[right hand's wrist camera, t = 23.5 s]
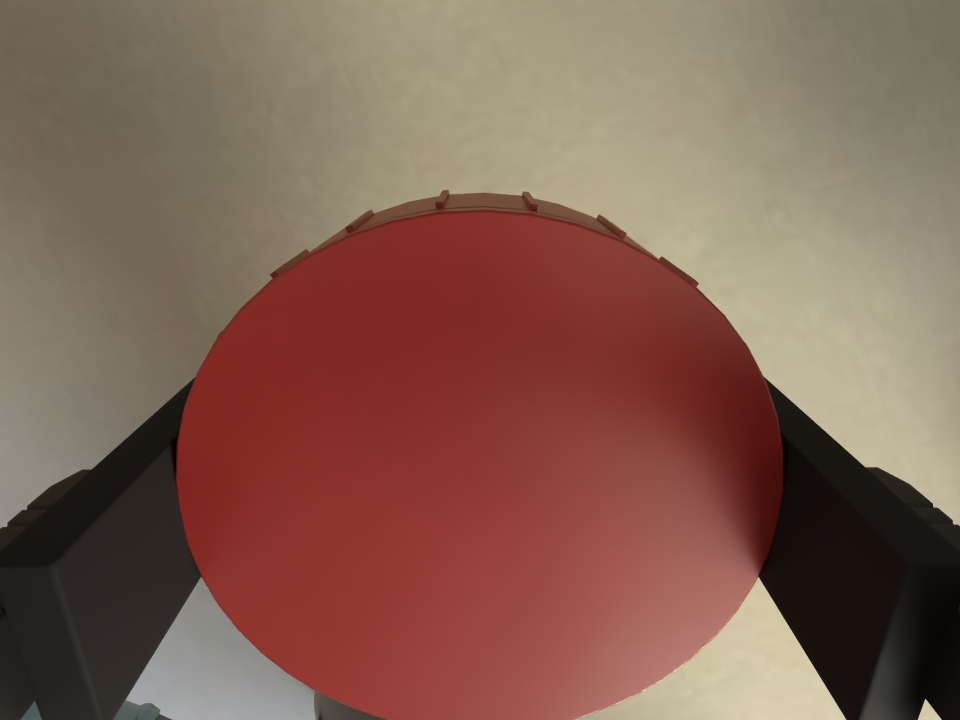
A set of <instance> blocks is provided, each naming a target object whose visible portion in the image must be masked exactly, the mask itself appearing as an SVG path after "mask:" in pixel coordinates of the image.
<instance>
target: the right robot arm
mask: <svg viewBox="0 0 960 720" xmlns="http://www.w3.org/2000/svg"><path fill="white" fill-rule="evenodd" d="M764 379H765V381H766V383H767V386H768V389H769V392H770V395H771V398H772V401H773V404H774V407H775V410H776V413H777V416H778V422H779V428H780V434H781V440H782V446H783V453H784V489H783V494H782V500H781V505H780V510H779V515H778V520H777V525H776V529H775V533H774V538H773V542H772V545H771V548H770V552H769V554H768V556H767V559H766V561H765V563H764V565H763V567H762V569H761V571H760V574H759V576H758V577H759V578H760V580H761V581H762V583H763V585H764V586H765V588H766V590H767V591H768V593H769V594H770V596H771V598H772V599H773V601H774V603H775V604H776V606H777V607H778V609H779V611H780V612H781V614H782V616H783V617H784V619H785V620H786V622H787V624H788V625H789V627H790V629H791V630H792V632H793V633H794V635H795V637H796V638H797V640H798V642H799V643H800V645H801V646H802V648H803V650H804V651H805V653H806V655H807V656H808V658H809V660H810V661H811V663H812V664H813V666H814V668H815V669H816V671H817V673H818V674H819V676H820V677H821V679H822V681H823V682H824V684H825V686H826V687H827V689H828V690H829V692H830V694H831V695H832V697H833V699H834V700H835V702H836V703H837V705H838V707H839V708H840V710H841V712H842V713H843V715H844V716H845V718H846V720H918V717H919V715H920V712H921V709H922V706H923V704H924V701H925V699H926V700H927V701H928V702H929V704H930V705H931V706H932V708H933V709H934V710H935V711H936V713H937V714H938V715H939V717H940V718H941V719H942V720H960V526H959V525H954V524H953V520H952V519H950V518H949V517H948V516H947V515H946V514H944V513H943V512H942V511H941V510H940V509H939V508H934V507H933V503H931V502H930V501H929V500H928V499H927V498H925V497H924V496H923V495H922V494H921V493H919V492H918V491H917V490H916V489H915V488H914V487H912V486H911V485H910V484H908V483H906V482H904V481H903V480H901V479H899V478H897V477H895V476H893V475H891V474H889V473H887V472H885V471H883V470H881V469H880V468H878V467H864V466H863V465H862V464H861V463H860V462H859V461H858V460H857V459H855V458H854V457H853V456H852V455H851V454H850V453H849V452H848V451H846V450H845V449H844V448H843V447H842V446H841V445H840V444H839V443H837V442H836V441H835V440H834V439H833V438H832V437H831V436H830V435H829V434H827V433H826V432H825V431H824V430H823V429H822V428H821V427H820V426H818V425H817V424H816V423H815V422H814V421H813V420H812V419H811V418H809V417H808V416H807V415H806V414H805V413H804V412H803V411H802V410H800V409H799V408H798V407H797V406H796V405H795V404H794V403H793V402H792V401H790V400H789V399H788V398H787V397H786V396H785V395H784V394H783V393H781V392H780V391H779V390H778V389H777V388H776V387H775V386H774V385H772V384H771V383H770V382H769V381H768V380H767V379H766V378H765V377H764ZM194 380H195V378H194V379H193V380H192V381H190V382H189V383H188V384H187V385H186V386H185V387H184V388H183V389H182V390H180V391H179V392H178V393H177V394H176V395H175V396H174V397H173V398H171V399H170V400H169V401H168V402H167V403H166V404H165V405H164V406H162V407H161V408H160V409H159V410H158V411H157V412H156V413H155V414H153V415H152V416H151V417H150V418H149V419H148V420H147V421H146V422H145V423H143V424H142V425H141V426H140V427H139V428H138V429H137V430H136V431H134V432H133V433H132V434H131V435H130V436H129V437H128V438H127V439H125V440H124V441H123V442H122V443H121V444H120V445H119V446H118V447H116V448H115V449H114V450H113V451H112V452H111V453H110V454H109V455H108V456H106V457H105V458H104V459H103V460H102V461H101V462H100V463H99V464H97V465H96V466H95V467H94V468H93V469H92V470H81V471H79V472H77V473H75V474H73V475H71V476H69V477H68V478H66V479H64V480H62V481H60V482H58V483H56V484H54V485H52V486H51V487H49V488H48V489H47V490H46V491H45V492H43V493H42V494H41V495H40V496H39V497H37V498H36V499H35V500H34V501H33V502H32V503H30V504H29V505H28V506H27V510H22V511H21V512H20V513H19V514H17V515H16V516H15V517H14V518H13V519H11V520H10V521H9V522H8V525H7V527H2V528H1V529H0V720H171V719H169V718H167V717H165V716H163V715H160V714H159V713H160V709H158V708H157V707H156V706H155V705H153V704H152V703H145V704H142V705H140V706H139V705H137V704H134V703H132V702H129V701H126V698H127V696H128V695H129V693H130V691H131V690H132V688H133V687H134V685H135V683H136V682H137V680H138V678H139V677H140V675H141V674H142V672H143V670H144V669H145V667H146V665H147V664H148V662H149V660H150V659H151V657H152V656H153V654H154V652H155V651H156V649H157V647H158V646H159V644H160V643H161V641H162V639H163V638H164V636H165V634H166V633H167V631H168V630H169V628H170V626H171V625H172V623H173V621H174V620H175V618H176V617H177V615H178V613H179V612H180V610H181V608H182V607H183V605H184V604H185V602H186V600H187V599H188V597H189V595H190V594H191V592H192V591H193V589H194V587H195V586H196V584H197V582H198V581H199V579H200V578H201V575H200V572H199V570H198V568H197V565H196V563H195V561H194V558H193V556H192V554H191V551H190V549H189V547H188V542H187V538H186V533H185V529H184V524H183V520H182V515H181V510H180V505H179V499H178V494H177V488H176V480H175V477H176V453H177V441H178V436H179V431H180V426H181V421H182V416H183V411H184V407H185V404H186V402H187V399H188V396H189V393H190V391H191V388H192V385H193V383H194ZM314 705H315V720H389V719H385V718H381V717H377V716H374V715H371V714H369V713H366V712H363V711H360V710H358V709H355V708H352V707H349V706H347V705H344V704H342V703H340V702H338V701H336V700H334V699H332V698H330V697H328V696H326V695H324V694H322V693H319V692H317V691H315V699H314Z"/></svg>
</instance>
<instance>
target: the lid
mask: <svg viewBox="0 0 960 720" xmlns="http://www.w3.org/2000/svg"><path fill="white" fill-rule="evenodd" d="M270 276H271V277H272V278H273V279H272V280H271V281H270V282H269V283H268V284H266V285H265V286H264V287H263V288H262V289H261V290H260V291H259V292H258V293H257V294H256V295H255V296H254V297H253V298H251V299H250V300H249V301H248V302H247V303H246V304H245V305H244V306H243V307H242V308H241V309H240V310H239V311H238V313H237V314H236V315H235V316H234V318H233V319H232V320H231V321H230V323H229V324H228V325H227V327H226V328H225V329H224V330H223V331H222V332H220V334H219V335H218V337H217V339H216V341H215V342H214V344H213V346H212V348H211V349H210V351H209V353H208V355H207V357H206V358H205V360H204V362H203V364H202V365H201V367H200V369H199V371H198V372H197V375H196V377H195V380H194V383H193V385H192V388H191V391H190V393H189V396H188V399H187V402H186V404H185V407H184V411H183V416H182V421H181V426H180V431H179V436H178V441H177V453H176V477H175V480H176V488H177V494H178V499H179V505H180V510H181V515H182V520H183V524H184V529H185V533H186V538H187V542H188V547H189V549H190V551H191V554H192V556H193V558H194V561H195V563H196V565H197V568H198V570H199V572H200V575H201V577H202V578H203V580H204V582H205V583H206V585H207V587H208V588H209V590H210V592H211V593H212V595H213V597H214V598H215V600H216V602H217V603H218V605H219V606H220V607H221V609H222V610H223V611H224V612H225V614H226V615H227V616H228V617H229V619H230V620H231V621H232V622H233V624H234V625H235V626H236V628H237V629H238V630H239V631H240V632H241V633H242V634H243V635H244V636H245V637H246V638H247V639H248V640H249V641H250V642H251V643H252V644H253V645H254V646H255V647H256V648H257V649H258V650H259V651H260V652H261V653H262V654H264V655H265V656H266V657H267V658H269V659H270V660H271V661H273V662H274V663H275V664H276V665H278V666H279V667H280V668H282V669H283V670H284V671H285V672H287V673H288V674H290V675H291V676H293V677H294V678H296V679H298V680H299V681H301V682H303V683H304V684H306V685H307V686H309V687H311V688H312V689H314V690H315V691H317V692H319V693H322V694H324V695H326V696H328V697H330V698H332V699H334V700H336V701H338V702H340V703H342V704H344V705H347V706H349V707H352V708H355V709H358V710H360V711H363V712H366V713H369V714H371V715H374V716H377V717H381V718H385V719H389V720H573V719H576V718H579V717H582V716H585V715H588V714H591V713H594V712H597V711H600V710H603V709H606V708H609V707H611V706H613V705H615V704H617V703H620V702H622V701H624V700H626V699H629V698H631V697H633V696H635V695H637V694H639V693H641V692H642V691H644V690H646V689H648V688H649V687H651V686H653V685H654V684H656V683H658V682H660V681H661V680H663V679H665V678H666V677H668V676H669V675H670V674H672V673H673V672H674V671H676V670H677V669H678V668H680V667H681V666H682V665H684V664H685V663H687V662H688V661H689V660H691V659H692V658H693V657H694V656H695V655H696V654H697V653H698V652H699V651H701V650H702V649H703V648H704V647H705V646H706V645H707V644H708V643H709V642H710V641H711V640H712V639H713V638H714V637H716V635H717V634H718V633H719V632H720V631H721V629H722V628H723V627H724V626H725V625H726V624H727V622H728V621H729V620H730V619H731V618H732V616H733V615H734V614H735V613H736V612H737V610H738V609H739V607H740V606H741V604H742V603H743V601H744V599H745V598H746V596H747V595H748V593H749V592H750V590H751V589H752V587H753V585H754V584H755V582H756V580H757V578H758V576H759V574H760V571H761V569H762V567H763V565H764V563H765V561H766V559H767V556H768V554H769V552H770V548H771V545H772V542H773V538H774V533H775V529H776V525H777V520H778V515H779V510H780V505H781V500H782V494H783V489H784V453H783V446H782V440H781V434H780V428H779V422H778V416H777V413H776V410H775V407H774V404H773V401H772V398H771V395H770V392H769V389H768V386H767V383H766V381H765V379H764V377H763V375H762V373H761V371H760V369H759V367H758V365H757V363H756V361H755V360H754V358H753V356H752V354H751V352H750V350H749V348H748V347H747V345H746V343H745V342H744V341H743V340H742V338H741V337H740V336H739V334H738V333H737V332H736V330H735V329H734V328H733V326H732V325H731V323H730V322H729V321H728V319H727V318H726V317H725V315H724V314H723V313H722V312H721V311H720V310H719V309H718V308H717V307H716V306H715V305H714V304H713V303H712V302H711V301H710V300H709V299H708V298H707V297H706V296H705V295H704V294H703V293H702V292H701V291H700V290H699V289H698V288H697V287H696V286H697V285H698V284H699V283H698V282H697V281H696V280H694V279H693V278H692V277H690V276H689V275H687V274H686V273H685V272H683V271H682V270H680V269H679V268H678V267H676V266H675V265H673V264H672V263H671V262H669V261H668V260H666V259H665V258H663V257H661V258H660V259H658V258H656V257H655V256H654V255H652V254H651V253H650V252H648V251H647V250H646V249H644V248H643V247H641V246H640V245H639V244H637V243H636V242H635V241H633V240H632V239H631V238H629V237H628V236H627V235H626V233H625V232H624V231H623V230H621V229H620V228H618V227H617V226H616V225H614V224H613V223H611V222H610V221H609V220H607V219H606V218H605V217H603V216H601V215H598V217H597V219H596V218H594V217H592V216H589V215H586V214H584V213H581V212H578V211H576V210H573V209H570V208H568V207H565V206H562V205H559V204H556V203H551V202H547V201H542V200H538V199H533V197H532V196H531V195H530V193H529V192H523V194H522V196H517V195H505V194H493V193H470V194H451V195H449V190H444V191H442V193H441V194H440V196H437V197H432V198H427V199H421V200H416V201H411V202H407V203H404V204H401V205H398V206H395V207H392V208H389V209H386V210H384V211H381V212H378V213H375V214H373V211H372V210H370V211H367V212H366V213H364V214H363V215H362V216H360V217H359V218H357V219H356V220H355V221H353V222H352V223H351V224H349V225H348V226H347V227H345V229H342V230H341V231H339V232H338V233H337V234H335V235H334V236H332V237H331V238H329V239H328V240H326V241H325V242H324V243H322V244H321V245H319V246H318V247H316V248H315V249H313V250H312V251H311V252H309V251H308V250H307V249H306V250H304V251H303V252H301V253H300V254H298V255H297V256H295V257H294V258H293V259H291V260H290V261H288V262H287V263H285V264H284V265H282V266H281V267H280V268H278V269H277V270H275V271H274V272H273V273H272V274H270Z"/></svg>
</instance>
